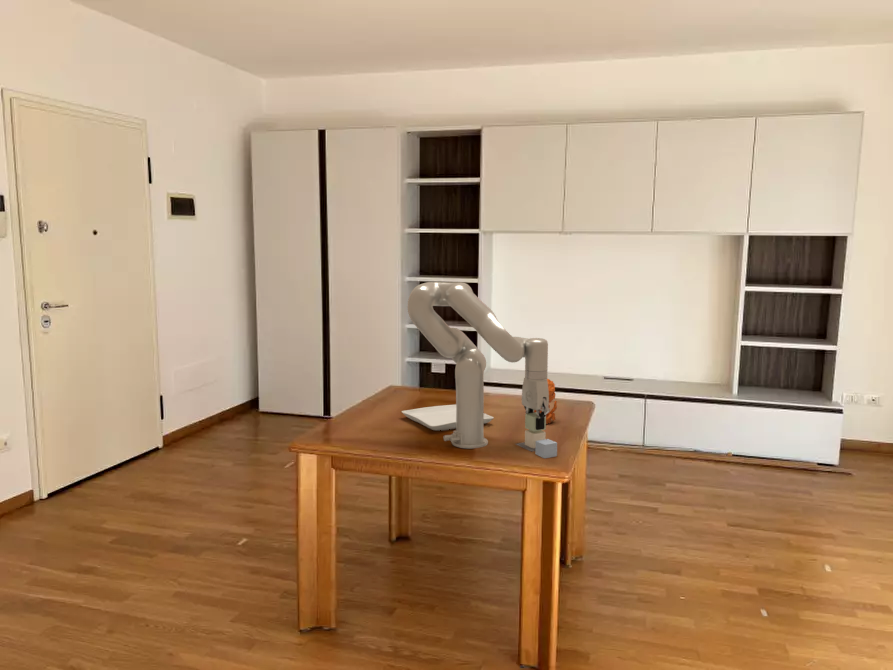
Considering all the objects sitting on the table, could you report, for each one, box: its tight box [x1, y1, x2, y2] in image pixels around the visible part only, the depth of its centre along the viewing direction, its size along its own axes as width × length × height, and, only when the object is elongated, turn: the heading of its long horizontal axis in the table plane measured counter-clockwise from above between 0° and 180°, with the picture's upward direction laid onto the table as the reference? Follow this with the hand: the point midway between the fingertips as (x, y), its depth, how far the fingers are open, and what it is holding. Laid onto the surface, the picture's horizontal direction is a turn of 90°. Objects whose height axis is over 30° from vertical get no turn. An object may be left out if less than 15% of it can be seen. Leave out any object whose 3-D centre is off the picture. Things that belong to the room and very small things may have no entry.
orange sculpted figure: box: [534, 378, 558, 425], centre depth 270 cm, size 11×11×18 cm
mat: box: [515, 441, 536, 453], centre depth 239 cm, size 10×10×1 cm
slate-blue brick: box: [534, 438, 558, 459], centre depth 228 cm, size 5×5×5 cm
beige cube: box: [524, 429, 546, 448], centre depth 239 cm, size 5×5×5 cm
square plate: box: [400, 403, 495, 431], centre depth 272 cm, size 27×27×4 cm
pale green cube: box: [524, 412, 547, 432], centre depth 238 cm, size 5×5×5 cm
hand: (535, 426), depth 238 cm, fingers closed on pale green cube, 4 cm apart
